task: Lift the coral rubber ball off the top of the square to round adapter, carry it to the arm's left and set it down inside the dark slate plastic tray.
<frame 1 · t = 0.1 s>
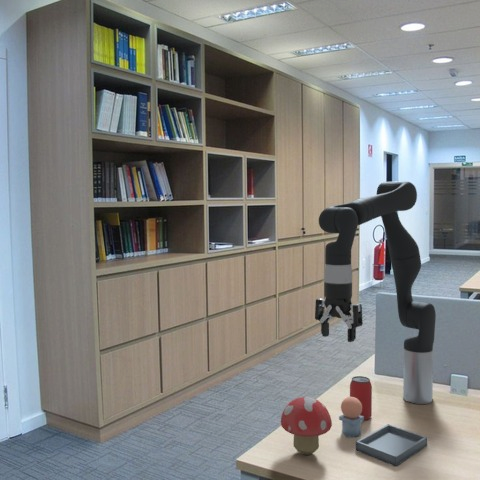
hand: (338, 338, 144), 29 cm above the table, fingers open, 8 cm apart
square to round adapter: (351, 433, 150), on the table
beer can: (360, 417, 162), on the table
ball: (351, 417, 150), point 5 cm above the table, touching square to round adapter
decorative mushroom: (306, 454, 138), on the table
tray: (391, 448, 141), on the table
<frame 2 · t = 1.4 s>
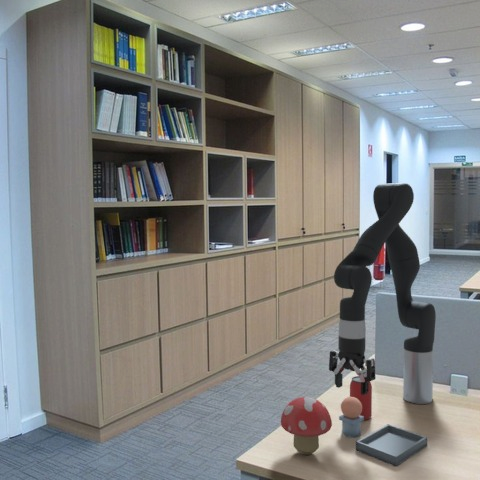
hand: (351, 390, 149), 13 cm above the table, fingers open, 8 cm apart
nothing on the table moved.
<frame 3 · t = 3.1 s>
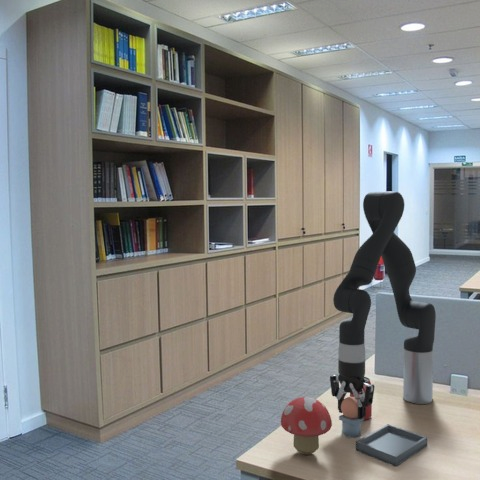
hand: (351, 415, 150), 5 cm above the table, fingers closed on ball, 6 cm apart
ball: (351, 417, 150), point 5 cm above the table, touching square to round adapter, gripper
everything else where it was.
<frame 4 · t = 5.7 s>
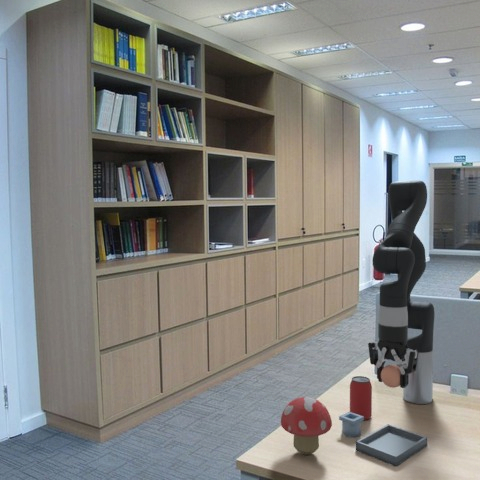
hand: (392, 384, 139), 18 cm above the table, fingers closed on ball, 6 cm apart
ball: (392, 386, 139), point 17 cm above the table, touching gripper
everything else where it was.
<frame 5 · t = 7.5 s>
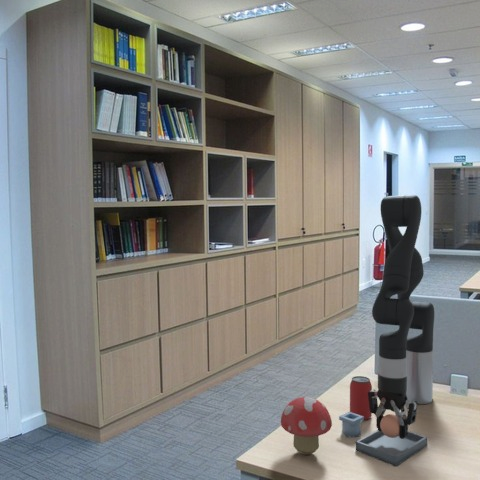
hand: (391, 433, 140), 4 cm above the table, fingers closed on ball, 6 cm apart
ball: (391, 436, 140), point 3 cm above the table, touching gripper
everything else where it was.
when the fingers open (3 cm above the table, at t = 8.7 s): ball drops 1 cm, resting on tray.
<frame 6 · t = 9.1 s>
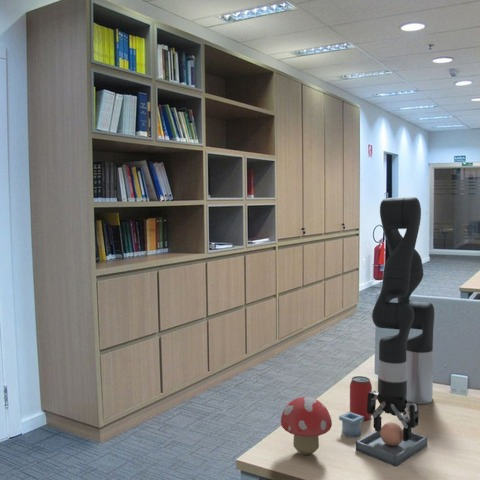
hand: (391, 435, 140), 4 cm above the table, fingers open, 8 cm apart
ball: (391, 444, 140), point 1 cm above the table, touching tray
everything else where it was.
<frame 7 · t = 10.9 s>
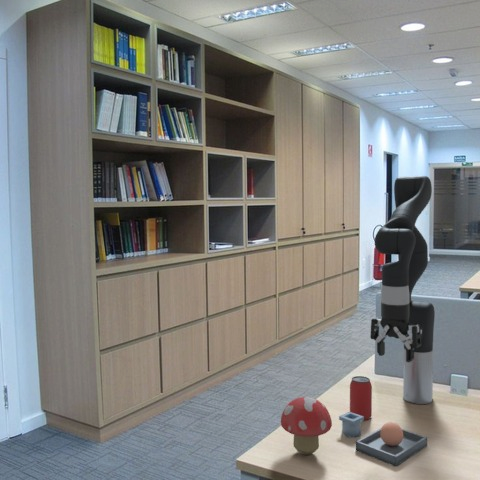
hand: (395, 358, 145), 23 cm above the table, fingers open, 8 cm apart
nothing on the table moved.
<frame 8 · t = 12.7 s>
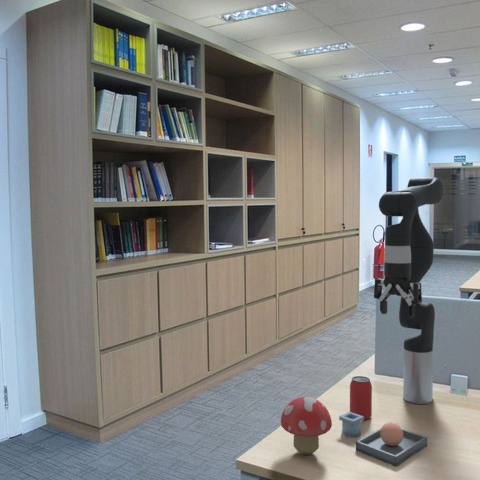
hand: (396, 315, 153), 33 cm above the table, fingers open, 8 cm apart
nothing on the table moved.
at the end: ball inside the target area on the tray (0.0 cm from its centre), point 1.0 cm above the tray's base; ball touching tray; the gripper is holding nothing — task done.
